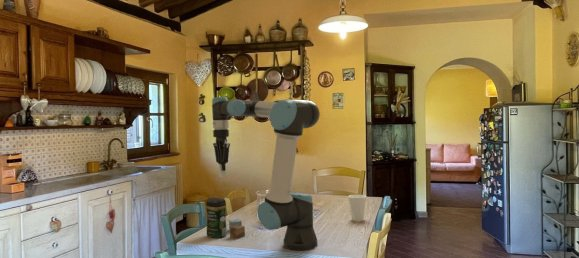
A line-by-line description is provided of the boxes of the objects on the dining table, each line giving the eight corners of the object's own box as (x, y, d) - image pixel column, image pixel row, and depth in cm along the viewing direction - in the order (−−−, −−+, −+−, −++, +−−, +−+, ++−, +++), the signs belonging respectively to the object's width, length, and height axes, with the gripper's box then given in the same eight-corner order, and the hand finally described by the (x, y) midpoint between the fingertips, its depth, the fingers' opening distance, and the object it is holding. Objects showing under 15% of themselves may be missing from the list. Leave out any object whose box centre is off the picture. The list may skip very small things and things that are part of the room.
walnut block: (244, 236, 192) (244, 226, 192) (237, 239, 188) (237, 228, 188) (237, 234, 195) (237, 224, 195) (230, 237, 192) (229, 227, 191)
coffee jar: (203, 236, 194) (202, 198, 193) (215, 232, 200) (214, 195, 200) (218, 239, 188) (217, 200, 188) (229, 235, 195) (228, 197, 194)
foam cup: (369, 219, 219) (369, 195, 218) (360, 222, 212) (359, 198, 212) (355, 216, 225) (354, 194, 225) (345, 220, 218) (345, 196, 218)
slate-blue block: (241, 230, 203) (241, 221, 203) (232, 232, 200) (232, 222, 200) (238, 228, 207) (238, 218, 207) (229, 229, 205) (229, 220, 205)
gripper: (207, 129, 197) (209, 177, 197) (220, 129, 187) (222, 179, 187) (221, 128, 202) (223, 175, 202) (234, 128, 191) (236, 177, 192)
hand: (222, 177), depth 194 cm, fingers closed
